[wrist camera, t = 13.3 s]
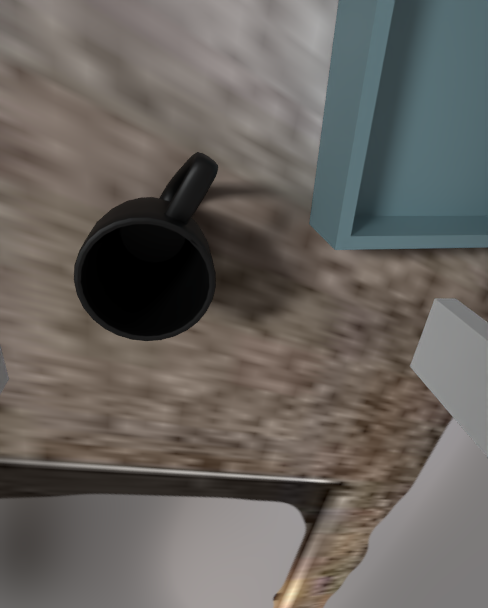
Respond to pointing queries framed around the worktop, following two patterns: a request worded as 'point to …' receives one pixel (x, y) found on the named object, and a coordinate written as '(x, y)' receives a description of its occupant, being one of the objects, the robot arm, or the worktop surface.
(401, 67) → the tote
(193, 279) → the mug
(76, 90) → the worktop surface
